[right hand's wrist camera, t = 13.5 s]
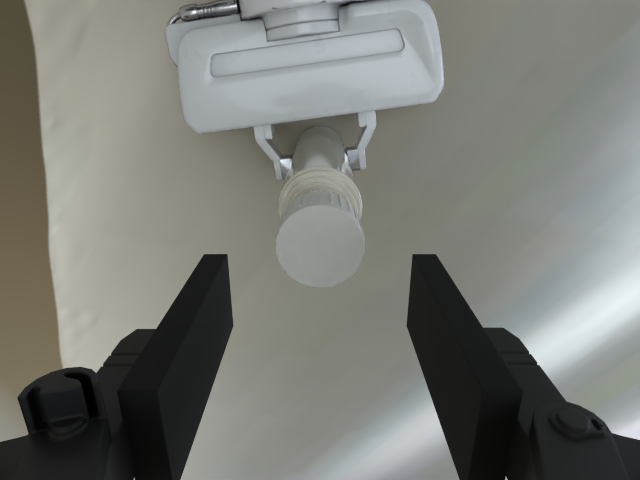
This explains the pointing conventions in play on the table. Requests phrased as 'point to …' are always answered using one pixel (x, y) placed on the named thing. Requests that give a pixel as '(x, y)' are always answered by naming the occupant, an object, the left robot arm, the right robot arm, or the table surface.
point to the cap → (320, 239)
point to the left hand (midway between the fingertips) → (321, 173)
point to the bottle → (319, 169)
